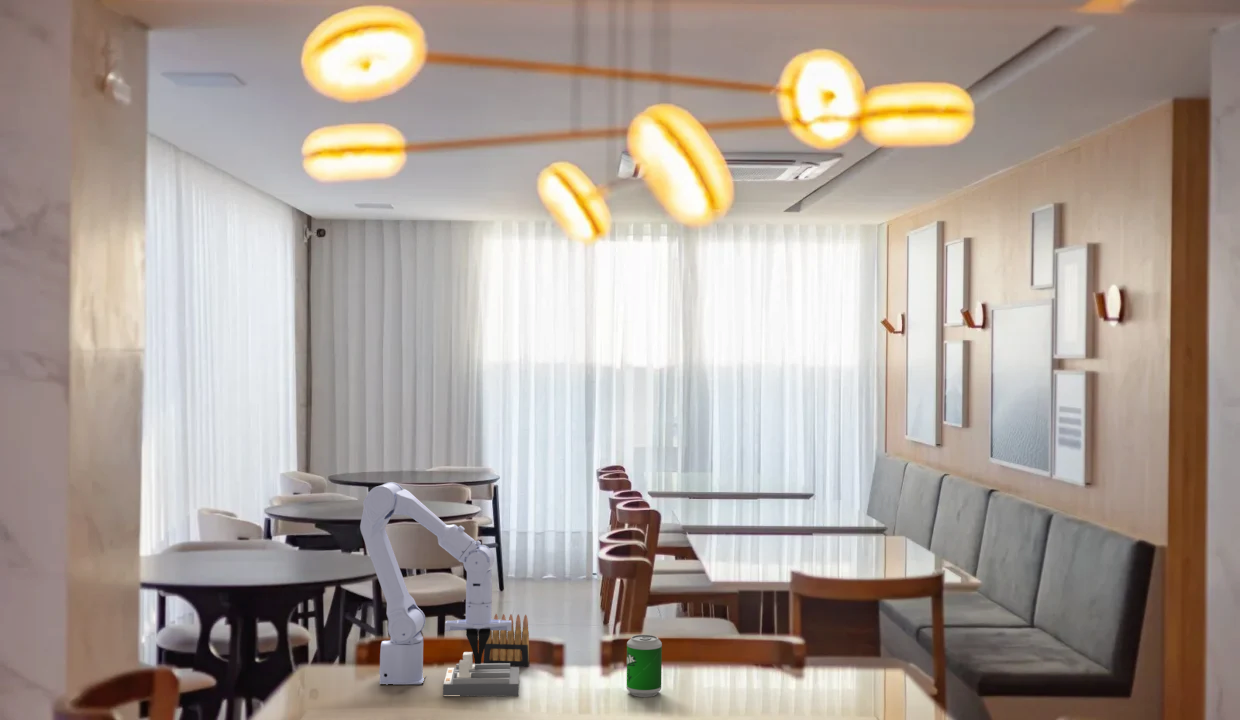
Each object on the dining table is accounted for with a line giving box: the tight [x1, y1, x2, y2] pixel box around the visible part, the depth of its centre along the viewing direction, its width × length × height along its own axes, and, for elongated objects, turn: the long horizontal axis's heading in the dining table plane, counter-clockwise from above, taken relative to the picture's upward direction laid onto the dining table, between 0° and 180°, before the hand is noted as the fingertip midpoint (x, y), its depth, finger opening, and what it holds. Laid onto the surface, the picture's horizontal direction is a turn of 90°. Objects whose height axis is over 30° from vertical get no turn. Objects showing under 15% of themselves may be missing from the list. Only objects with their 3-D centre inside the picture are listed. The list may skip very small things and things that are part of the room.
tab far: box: [462, 651, 475, 670], centre depth 264 cm, size 3×4×4 cm
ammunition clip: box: [482, 613, 531, 668], centre depth 281 cm, size 11×2×12 cm, turn 86°
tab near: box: [457, 659, 471, 678], centre depth 257 cm, size 3×4×4 cm
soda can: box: [626, 634, 663, 698], centre depth 258 cm, size 8×8×12 cm
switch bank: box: [442, 663, 520, 697], centre depth 261 cm, size 16×14×4 cm
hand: (478, 663), depth 265 cm, fingers closed
